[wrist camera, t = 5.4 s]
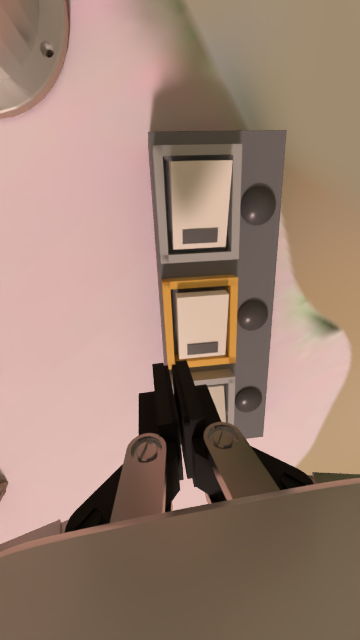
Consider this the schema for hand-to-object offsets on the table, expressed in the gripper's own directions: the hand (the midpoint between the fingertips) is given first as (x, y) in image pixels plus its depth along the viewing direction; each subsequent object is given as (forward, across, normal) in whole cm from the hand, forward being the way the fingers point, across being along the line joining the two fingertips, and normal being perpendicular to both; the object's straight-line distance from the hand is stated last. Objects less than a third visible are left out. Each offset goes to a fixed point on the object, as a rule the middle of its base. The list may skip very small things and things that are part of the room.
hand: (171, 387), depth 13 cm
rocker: (+9, -4, -8) cm, 13 cm away
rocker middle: (+9, -4, +1) cm, 10 cm away
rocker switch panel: (+13, -5, +1) cm, 14 cm away
